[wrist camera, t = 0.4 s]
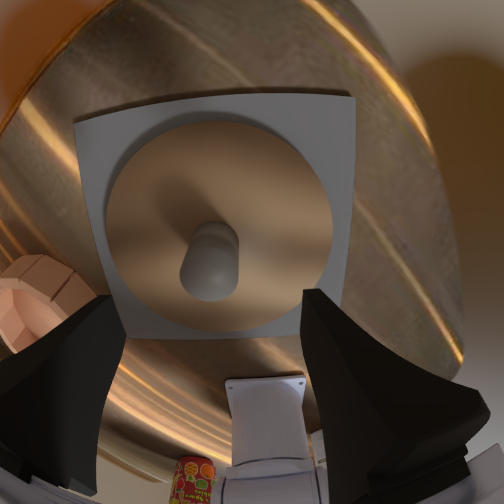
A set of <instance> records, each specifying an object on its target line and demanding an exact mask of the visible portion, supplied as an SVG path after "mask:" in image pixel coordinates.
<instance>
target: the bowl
mask: <svg viewBox="0 0 504 504" xmlns="http://www.w3.org/2000/svg"><path fill="white" fill-rule="evenodd" d="M95 297H97V295H96V294H95V293H94V291H93V290H92V289H91V288H90V287H89V286H88V285H87V284H86V283H85V281H84V280H83V279H82V278H81V277H80V276H79V275H78V273H77V272H76V273H74V270H73V269H71V268H69V267H67V266H65V265H63V264H62V263H60V262H58V261H56V260H54V259H53V258H51V257H49V256H47V255H43V254H36V255H24V256H20V257H19V258H18V259H17V260H15V261H14V262H13V263H12V264H11V265H10V266H9V267H8V268H7V269H6V270H4V271H3V272H2V273H1V274H0V335H1V336H2V338H3V340H4V341H5V343H6V345H8V346H9V348H10V349H11V350H12V351H13V352H14V353H15V354H16V353H18V352H19V351H21V350H23V349H24V348H26V347H28V346H29V345H31V344H33V343H34V342H36V341H37V340H39V339H40V338H41V337H43V336H44V335H46V334H47V333H48V332H50V331H51V330H52V329H54V328H55V327H56V326H58V325H59V324H60V323H62V322H63V321H64V320H66V319H67V318H68V317H69V316H71V315H72V314H73V313H75V312H76V311H77V310H79V309H80V308H81V307H83V306H84V305H85V304H87V303H88V302H89V301H91V300H92V299H94V298H95Z"/></svg>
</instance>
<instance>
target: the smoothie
mask: <svg viewBox="0 0 504 504" xmlns="http://www.w3.org/2000/svg"><path fill="white" fill-rule="evenodd" d="M215 482H216V468H215V467H213V462H212V461H210V460H208V459H206V458H202V457H196V456H185V457H182V458H180V461H179V462H178V463H177V464H176V468H175V473H174V478H173V484H172V489H171V495H170V500H169V504H210V499H211V491H212V487H213V485H214V483H215Z"/></svg>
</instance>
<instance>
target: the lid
mask: <svg viewBox="0 0 504 504" xmlns="http://www.w3.org/2000/svg"><path fill="white" fill-rule="evenodd" d="M106 236H107V242H108V247H109V251H110V254H111V257H112V260H113V263H114V265H115V267H116V269H117V271H118V273H119V275H120V276H121V278H122V279H123V281H124V282H125V284H126V285H127V287H128V288H129V289H130V290H131V291H132V293H133V294H134V295H135V296H136V297H137V298H138V299H139V300H140V301H141V302H142V303H143V304H145V305H146V306H147V307H149V308H150V309H151V310H153V311H154V312H156V313H157V314H159V315H161V316H162V317H164V318H166V319H168V320H170V321H172V322H174V323H177V324H179V325H182V326H185V327H188V328H193V329H197V330H202V331H210V332H234V331H242V330H247V329H252V328H255V327H259V326H262V325H265V324H267V323H269V322H272V321H274V320H276V319H278V318H280V317H281V316H283V315H285V314H286V313H288V312H289V311H291V310H292V309H293V308H295V307H296V306H297V305H298V304H299V303H300V302H301V301H302V296H303V289H313V288H314V287H315V285H316V284H317V282H318V281H319V279H320V277H321V276H322V273H323V271H324V269H325V267H326V265H327V262H328V258H329V255H330V252H331V246H332V239H333V221H332V213H331V208H330V204H329V201H328V197H327V194H326V192H325V190H324V188H323V185H322V183H321V181H320V179H319V178H318V176H317V175H316V173H315V172H314V170H313V169H312V167H311V166H310V165H309V164H308V163H307V161H306V160H305V159H304V158H303V157H302V156H301V155H300V154H299V153H298V152H297V151H296V150H294V149H293V148H292V147H291V146H290V145H288V144H287V143H286V142H284V141H282V140H281V139H279V138H277V137H276V136H274V135H273V134H270V133H268V132H266V131H264V130H261V129H259V128H257V127H253V126H250V125H246V124H242V123H237V122H229V121H204V122H198V123H192V124H187V125H184V126H181V127H178V128H175V129H172V130H169V131H167V132H165V133H163V134H161V135H159V136H158V137H156V138H154V139H153V140H151V141H150V142H149V143H147V144H146V145H144V146H143V147H142V148H141V149H140V150H139V151H138V152H137V153H136V154H135V155H134V156H133V157H132V158H131V159H130V160H129V161H128V163H127V164H126V165H125V167H124V168H123V169H122V171H121V173H120V174H119V176H118V178H117V180H116V182H115V184H114V186H113V189H112V192H111V194H110V197H109V202H108V206H107V213H106Z"/></svg>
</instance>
